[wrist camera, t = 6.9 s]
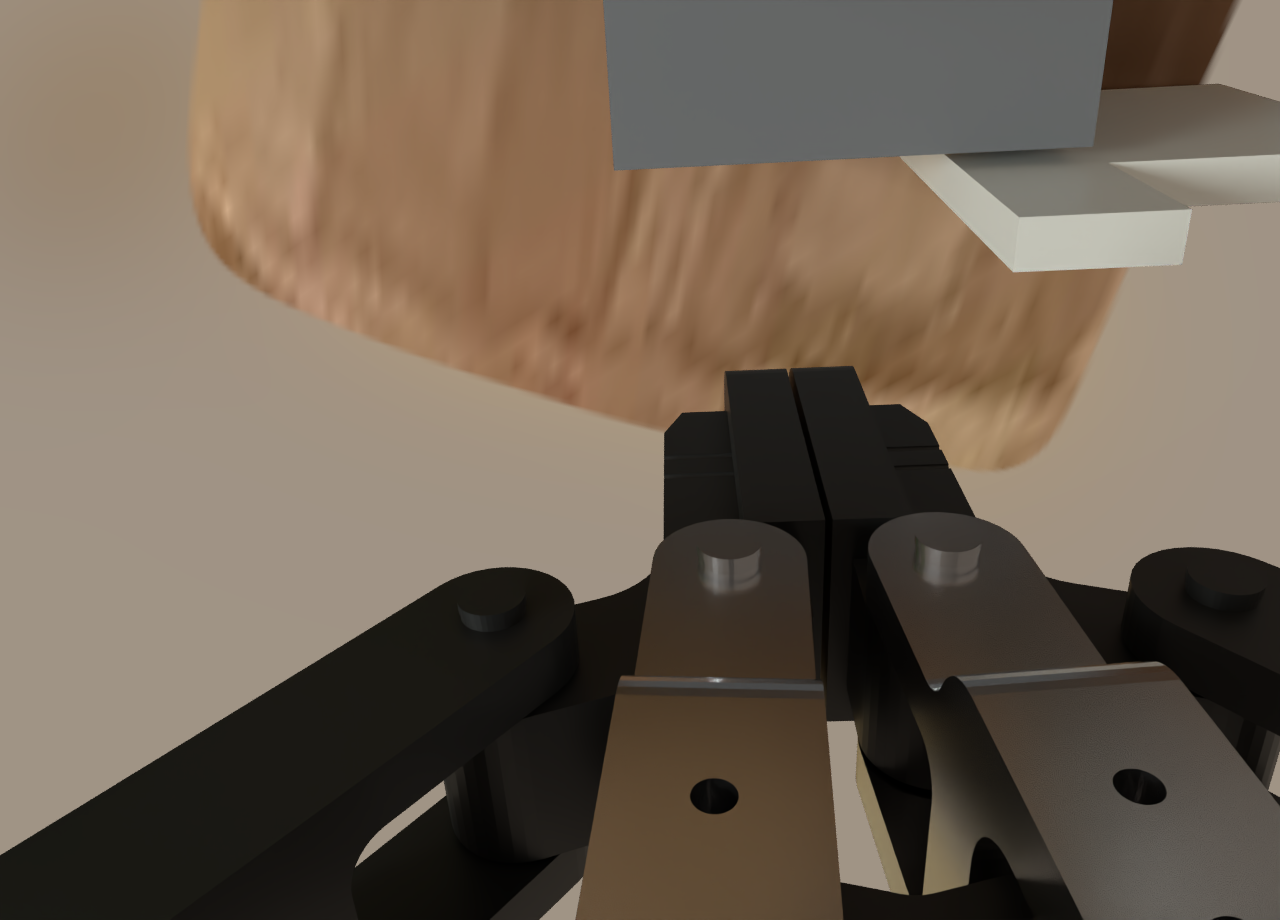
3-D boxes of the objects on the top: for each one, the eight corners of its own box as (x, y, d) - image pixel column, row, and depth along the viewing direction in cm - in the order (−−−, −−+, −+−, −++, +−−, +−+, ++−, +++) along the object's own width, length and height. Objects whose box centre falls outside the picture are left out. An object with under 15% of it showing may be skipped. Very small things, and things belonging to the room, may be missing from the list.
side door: (881, 101, 31) (1018, 217, 19) (1219, 83, 30) (1581, 190, 18) (879, 140, 31) (1012, 277, 19) (1211, 123, 31) (1560, 253, 19)
